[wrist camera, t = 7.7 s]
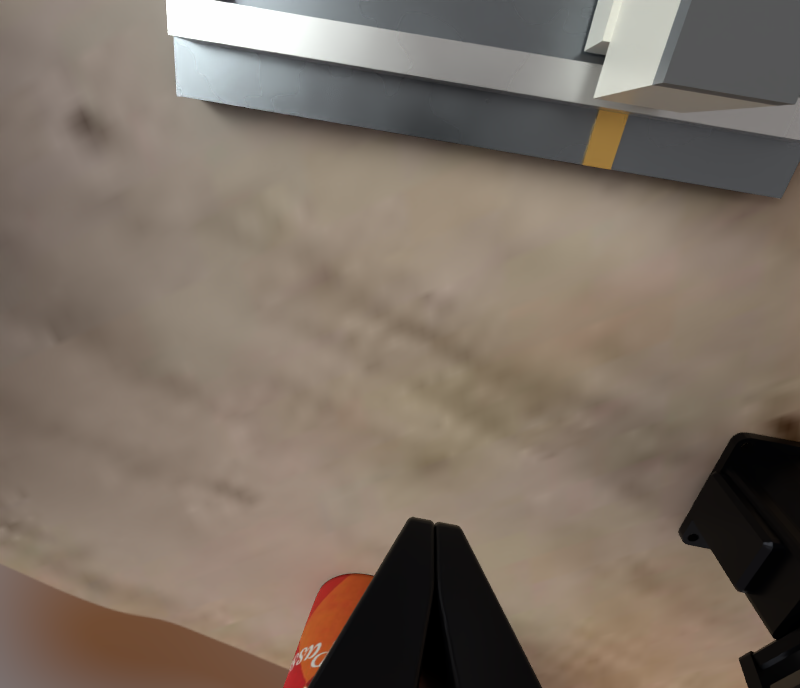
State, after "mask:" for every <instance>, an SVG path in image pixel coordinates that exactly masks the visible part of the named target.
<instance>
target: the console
mask: <svg viewBox="0 0 800 688" xmlns="http://www.w3.org/2000/svg"><path fill="white" fill-rule="evenodd" d="M166 2H167V20H168V34H169V35H172V36H174V53H175V73H176V93H177V96H182V97H188V98H194V99H200V100H206V101H211V102H217V103H223V104H229V105H235V106H241V107H247V108H253V109H258V110H264V111H270V112H276V113H282V114H288V115H294V116H299V117H305V118H311V119H317V120H323V121H329V122H335V123H340V124H346V125H352V126H358V127H364V128H370V129H376V130H381V131H387V132H393V133H399V134H405V135H411V136H417V137H423V138H428V139H434V140H440V141H446V142H452V143H458V144H464V145H469V146H475V147H481V148H487V149H493V150H499V151H505V152H510V153H516V154H522V155H528V156H534V157H540V158H546V159H552V160H557V161H563V162H569V163H575V164H581V165H586V166H592V167H598V168H604V169H610V170H616V171H622V172H628V173H634V174H639V175H645V176H651V177H657V178H663V179H669V180H675V181H680V182H686V183H692V184H698V185H704V186H710V187H716V188H722V189H727V190H733V191H739V192H745V193H751V194H757V195H763V196H768V197H774V198H780V199H781V198H782V196H783V194H784V192H785V190H786V188H787V186H788V184H789V182H790V180H791V178H792V176H793V174H794V171H795V169H796V167H797V165H798V163H799V161H800V95H799V97H798V100H797V102H796V104H794V105H781V106H768V107H755V108H742V109H729V110H716V111H703V112H690V113H678V112H672V111H666V110H660V109H654V108H648V107H642V106H636V105H630V104H624V103H618V102H612V101H606V100H600V99H594V94H595V91H596V87H597V84H598V81H599V77H600V74H601V71H602V67H603V64H604V60H605V57H606V55H602V54H596V53H590V52H584V49H585V46H586V42H587V39H588V35H589V31H590V28H591V24H592V20H593V17H594V13H595V10H596V6H597V2H598V0H166Z"/></svg>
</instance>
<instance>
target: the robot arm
mask: <svg viewBox="0 0 800 688" xmlns="http://www.w3.org/2000/svg"><path fill="white" fill-rule="evenodd" d="M745 443H747V444H746V445H745V446H742V445H743V444H745ZM678 533H679V536H680V537H681V539H682V541H683V542H684V543H685V544H688V545H692V546H697V547H702V548H708V549H711V550H712V552H713V554H714V555H715V557H716V558H717V560H718V562H719V563H720V565H721V566H722V568H723V570H724V571H725V573H726V574H727V576H728V578H729V579H730V581H731V582H732V584H733V586H734V587H735V589H736V590H737V591H739V592H743V593H745V594H746V596H747V598H748V599H749V601H750V602H751V604H752V605H753V607H754V609H755V610H756V612H757V613H758V615H759V616H760V618H761V620H762V621H763V623H764V624H765V626H766V627H767V629H768V630H769V632H770V634H771V635H772V637H773V638H774V639H776V640H775V641H773V642H772V643H770V644H768V645H766V646H765V647H763V648H761V649H760V650H758V651H756V652H752V651H750V652H748V653H747V654H745V655H743V656H742V657H740V658H739V661H740V664H741V667H742V670H743V673H744V676H745V679H746V683H747V686H748V688H800V442H795V441H790V440H784V439H779V438H773V437H768V436H762V435H757V434H751V433H739V434H736V435H735V436H733V437H732V438H731V440H730V441H729V443H728V445H727V446H726V448H725V450H724V452H723V453H722V455H721V457H720V459H719V460H718V462H717V464H716V466H715V467H714V469H713V471H712V473H711V474H710V476H709V478H708V480H707V481H706V483H705V485H704V487H703V488H702V490H701V492H700V494H699V495H698V497H697V499H696V501H695V502H694V504H693V506H692V508H691V509H690V511H689V513H688V515H687V516H686V518H685V520H684V522H683V523H682V525H681V527H680V529H679V532H678ZM307 688H542V687H541V685H540V683H539V681H538V679H537V677H536V675H535V673H534V671H533V669H532V667H531V665H530V663H529V661H528V659H527V657H526V655H525V653H524V651H523V649H522V647H521V645H520V643H519V641H518V639H517V637H516V635H515V633H514V631H513V629H512V627H511V625H510V623H509V622H508V620H507V618H506V616H505V614H504V612H503V610H502V608H501V606H500V604H499V602H498V600H497V598H496V596H495V594H494V592H493V590H492V588H491V586H490V584H489V582H488V580H487V578H486V576H485V574H484V572H483V570H482V568H481V566H480V564H479V562H478V560H477V558H476V556H475V554H474V552H473V550H472V548H471V546H470V545H469V543H468V541H467V539H466V537H465V535H464V533H463V531H462V529H461V528H460V527H459V526H457V525H452V524H447V523H442V522H437V523H435V525H434V523H433V522H432V521H431V520H426V519H421V518H415V517H411V518H409V519H408V520H407V522H406V524H405V525H404V527H403V529H402V530H401V532H400V534H399V535H398V537H397V539H396V540H395V542H394V544H393V545H392V547H391V549H390V550H389V552H388V554H387V555H386V557H385V559H384V560H383V562H382V564H381V565H380V567H379V569H378V570H377V572H376V574H375V575H374V577H373V579H372V580H371V582H370V584H369V585H368V587H367V589H366V590H365V592H364V594H363V595H362V597H361V599H360V600H359V602H358V604H357V605H356V607H355V609H354V610H353V612H352V614H351V615H350V617H349V619H348V620H347V622H346V624H345V625H344V627H343V629H342V630H341V632H340V634H339V635H338V637H337V639H336V640H335V642H334V644H333V645H332V647H331V649H330V650H329V652H328V654H327V655H326V657H325V659H324V660H323V662H322V664H321V665H320V667H319V669H318V670H317V672H316V674H315V676H314V677H313V679H312V681H311V682H310V684H309V686H308V687H307Z"/></svg>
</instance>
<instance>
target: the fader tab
mask: <svg viewBox="0 0 800 688" xmlns="http://www.w3.org/2000/svg"><path fill="white" fill-rule="evenodd" d="M584 52H590V53H596V54H602V55H606V57H605V60H604V64H603V67H602V71H601V74H600V77H599V81H598V84H597V87H596V91H595V94H594V99H600V100H606V101H612V102H618V103H624V104H630V105H636V106H642V107H648V108H654V109H660V110H666V111H672V112H678V113H690V112H703V111H716V110H729V109H742V108H755V107H768V106H781V105H794V104H796V102H797V100H798V97H799V95H800V0H598V2H597V6H596V10H595V13H594V17H593V20H592V24H591V28H590V31H589V35H588V39H587V42H586V46H585V49H584Z"/></svg>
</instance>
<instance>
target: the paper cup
mask: <svg viewBox="0 0 800 688" xmlns="http://www.w3.org/2000/svg"><path fill="white" fill-rule="evenodd" d="M373 577H374V576H371V575H365V574H345V575H340V576H337V577H335V578H332V579H330V580H329V581H327V582H326V583H325V584H324V585H323V586H322V587H321V589H320V590H319V592H318V594H317V597H316V599H315V602H314V604H313V607H312V609H311V612H310V615H309V617H308V620H307V623H306V625H305V628H304V631H303V634H302V636H301V639H300V642H299V645H298V648H297V650H296V653H295V656H294V659H293V661H292V664H291V667H290V670H289V673H288V676H287V678H286V681H285V684H284V687H283V688H307V687H308V686H309V684H310V682H311V681H312V679H313V677H314V676H315V674H316V672H317V670H318V669H319V667H320V665H321V664H322V662H323V660H324V659H325V657H326V655H327V654H328V652H329V650H330V649H331V647H332V645H333V644H334V642H335V640H336V639H337V637H338V635H339V634H340V632H341V630H342V629H343V627H344V625H345V624H346V622H347V620H348V619H349V617H350V615H351V614H352V612H353V610H354V609H355V607H356V605H357V604H358V602H359V600H360V599H361V597H362V595H363V594H364V592H365V590H366V589H367V587H368V585H369V584H370V582H371V580H372V579H373Z"/></svg>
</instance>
